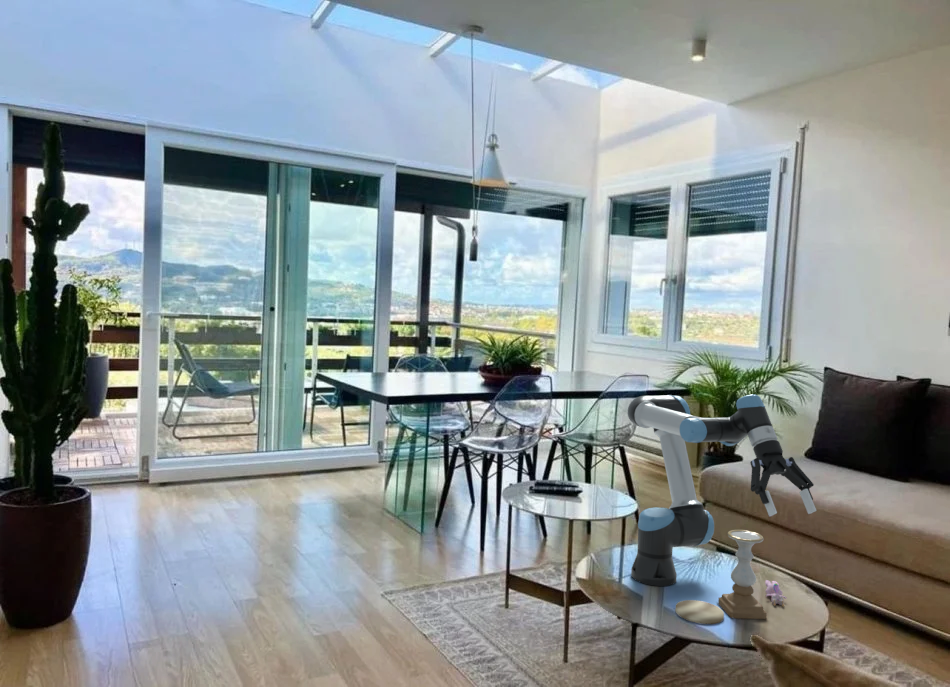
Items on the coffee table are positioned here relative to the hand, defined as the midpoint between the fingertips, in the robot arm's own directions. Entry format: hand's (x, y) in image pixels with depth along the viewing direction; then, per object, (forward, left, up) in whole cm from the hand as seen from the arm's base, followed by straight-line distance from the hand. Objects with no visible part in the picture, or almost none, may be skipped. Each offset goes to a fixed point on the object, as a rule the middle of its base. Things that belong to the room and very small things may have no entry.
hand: (793, 513), depth 190 cm
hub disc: (-24, -4, -36) cm, 43 cm away
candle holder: (-16, +8, -36) cm, 40 cm away
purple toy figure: (-13, +26, -36) cm, 46 cm away
